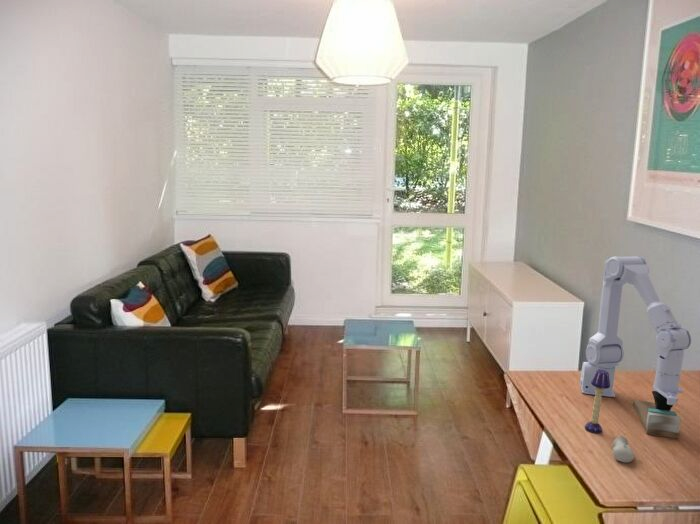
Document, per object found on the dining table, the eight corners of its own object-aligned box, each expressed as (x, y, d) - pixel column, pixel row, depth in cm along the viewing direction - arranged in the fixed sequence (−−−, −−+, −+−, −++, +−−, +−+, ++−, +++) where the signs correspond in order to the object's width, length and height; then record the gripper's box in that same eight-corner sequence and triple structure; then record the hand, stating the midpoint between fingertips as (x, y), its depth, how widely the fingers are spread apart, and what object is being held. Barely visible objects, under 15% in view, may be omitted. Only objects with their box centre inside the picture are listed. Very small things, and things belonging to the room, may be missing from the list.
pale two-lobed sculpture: (630, 471, 139) (608, 460, 141) (630, 455, 146) (609, 444, 148) (638, 457, 137) (617, 446, 139) (638, 441, 145) (617, 431, 146)
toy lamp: (589, 423, 160) (596, 366, 156) (606, 429, 156) (614, 371, 153) (582, 429, 156) (589, 370, 153) (599, 435, 153) (607, 376, 150)
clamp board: (646, 433, 155) (649, 414, 154) (632, 404, 173) (635, 387, 172) (677, 438, 153) (680, 419, 152) (660, 408, 171) (663, 390, 170)
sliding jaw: (647, 424, 156) (650, 410, 155) (646, 421, 158) (648, 408, 157) (674, 428, 155) (676, 414, 154) (672, 425, 156) (675, 411, 156)
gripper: (692, 384, 147) (684, 433, 150) (677, 364, 161) (670, 409, 164) (662, 380, 149) (655, 429, 152) (649, 361, 163) (643, 406, 166)
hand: (661, 419), depth 158 cm, fingers closed
